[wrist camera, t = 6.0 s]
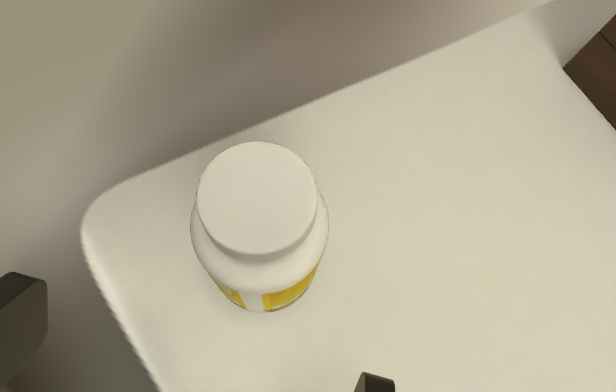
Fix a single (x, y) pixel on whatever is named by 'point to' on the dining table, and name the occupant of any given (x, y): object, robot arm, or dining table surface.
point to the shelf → (598, 70)
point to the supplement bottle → (259, 225)
